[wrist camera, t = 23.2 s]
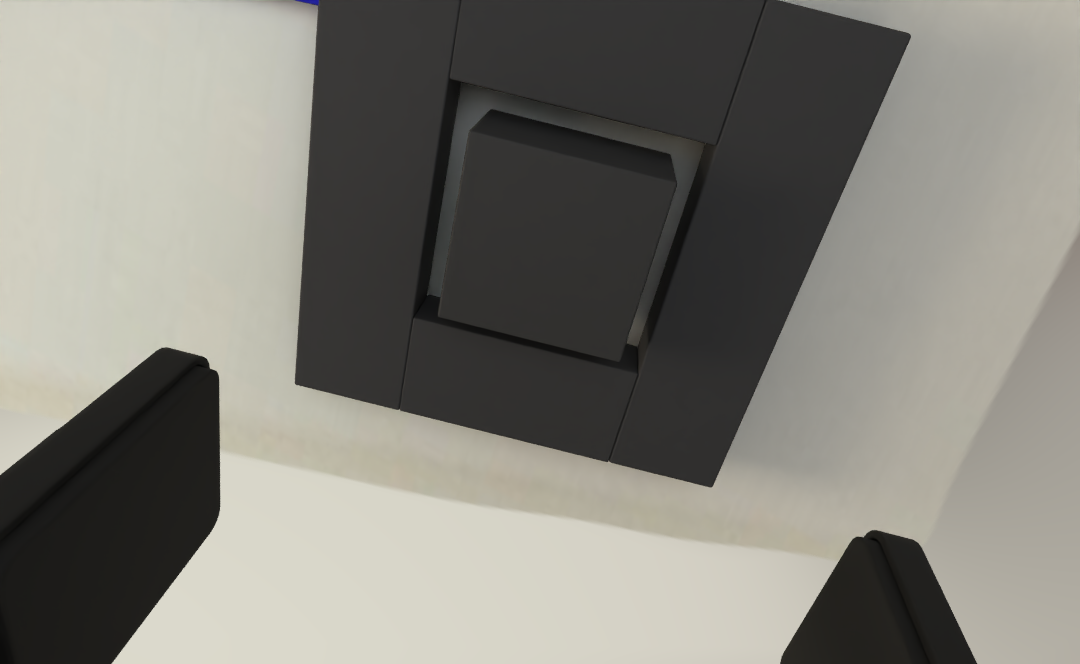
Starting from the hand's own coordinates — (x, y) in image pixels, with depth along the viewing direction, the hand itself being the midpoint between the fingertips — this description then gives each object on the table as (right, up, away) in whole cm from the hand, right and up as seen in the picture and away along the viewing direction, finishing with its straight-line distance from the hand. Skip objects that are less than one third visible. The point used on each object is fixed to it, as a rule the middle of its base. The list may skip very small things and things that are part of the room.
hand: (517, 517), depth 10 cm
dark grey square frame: (+1, +7, +14) cm, 15 cm away
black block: (+1, +7, +14) cm, 15 cm away
